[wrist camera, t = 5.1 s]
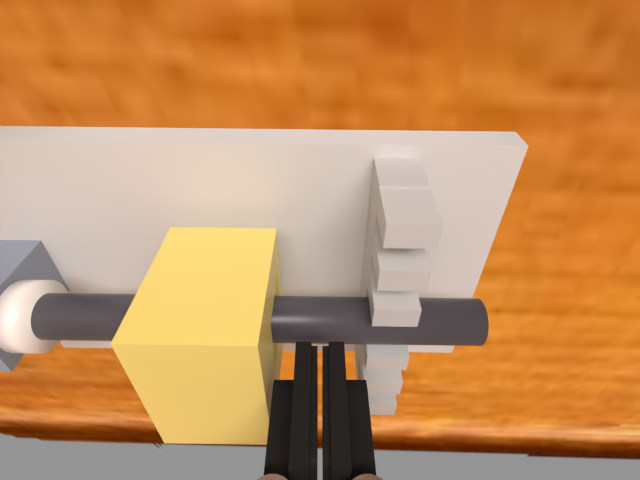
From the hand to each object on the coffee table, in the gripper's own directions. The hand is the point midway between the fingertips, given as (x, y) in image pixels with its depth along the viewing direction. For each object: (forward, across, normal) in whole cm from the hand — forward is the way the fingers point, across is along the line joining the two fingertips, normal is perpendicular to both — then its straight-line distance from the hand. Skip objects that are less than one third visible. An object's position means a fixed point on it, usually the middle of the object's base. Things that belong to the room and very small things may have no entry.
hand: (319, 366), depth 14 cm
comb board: (+6, +3, 0) cm, 7 cm away
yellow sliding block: (+4, +4, 0) cm, 5 cm away
